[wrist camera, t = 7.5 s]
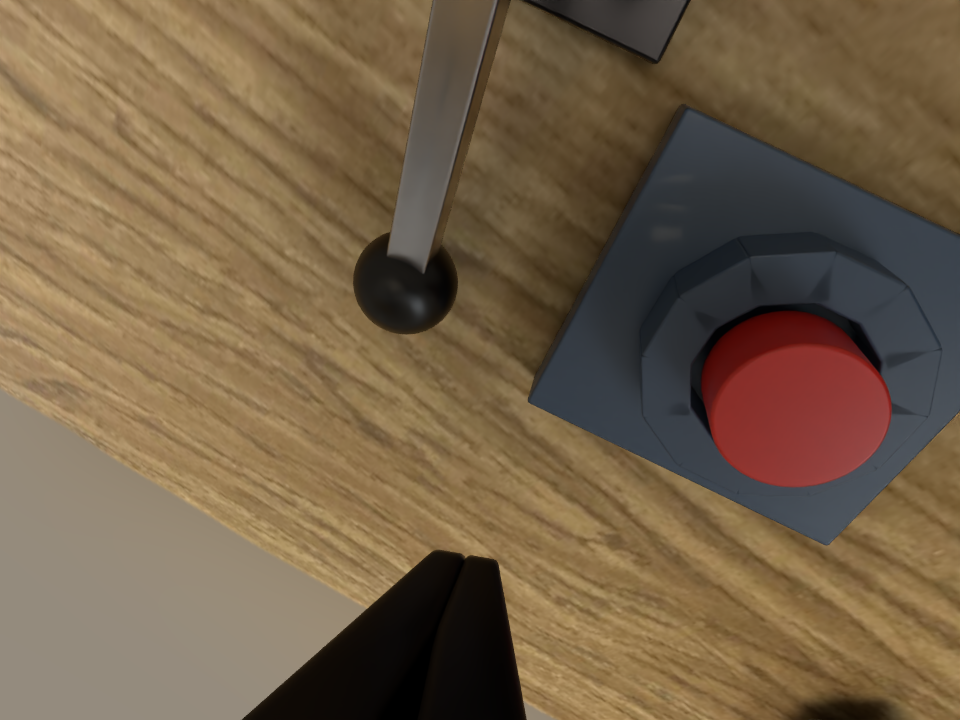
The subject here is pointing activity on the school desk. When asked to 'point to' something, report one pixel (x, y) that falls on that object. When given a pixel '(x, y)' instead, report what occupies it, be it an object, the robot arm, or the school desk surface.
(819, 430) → the red button
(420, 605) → the robot arm
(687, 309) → the button block
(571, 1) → the lever bracket
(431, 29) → the lever handle
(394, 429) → the school desk surface
